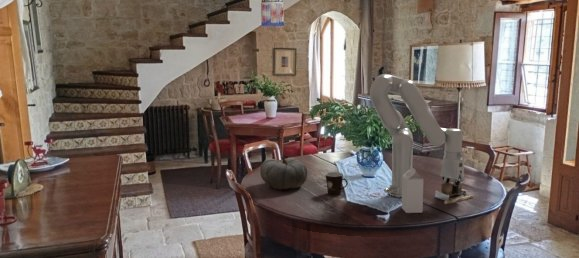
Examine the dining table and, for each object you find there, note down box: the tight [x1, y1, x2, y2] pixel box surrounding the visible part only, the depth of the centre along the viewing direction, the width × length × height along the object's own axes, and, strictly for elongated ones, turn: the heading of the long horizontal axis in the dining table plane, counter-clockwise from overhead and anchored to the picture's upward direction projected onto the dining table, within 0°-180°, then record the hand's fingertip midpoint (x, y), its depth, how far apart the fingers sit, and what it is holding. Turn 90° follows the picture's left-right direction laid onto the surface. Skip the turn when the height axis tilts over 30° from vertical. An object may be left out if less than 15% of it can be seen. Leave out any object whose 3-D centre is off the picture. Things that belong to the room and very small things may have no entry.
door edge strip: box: [443, 194, 474, 205], centre depth 204 cm, size 18×1×1 cm, turn 118°
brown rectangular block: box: [440, 181, 463, 197], centre depth 208 cm, size 4×9×5 cm, turn 116°
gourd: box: [260, 155, 308, 191], centre depth 231 cm, size 25×25×17 cm
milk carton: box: [401, 166, 424, 214], centre depth 190 cm, size 7×7×19 cm
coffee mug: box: [325, 171, 349, 197], centre depth 215 cm, size 12×9×10 cm
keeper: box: [434, 189, 468, 201], centre depth 209 cm, size 13×8×3 cm, turn 118°
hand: (451, 191), depth 209 cm, fingers closed on brown rectangular block, 4 cm apart
